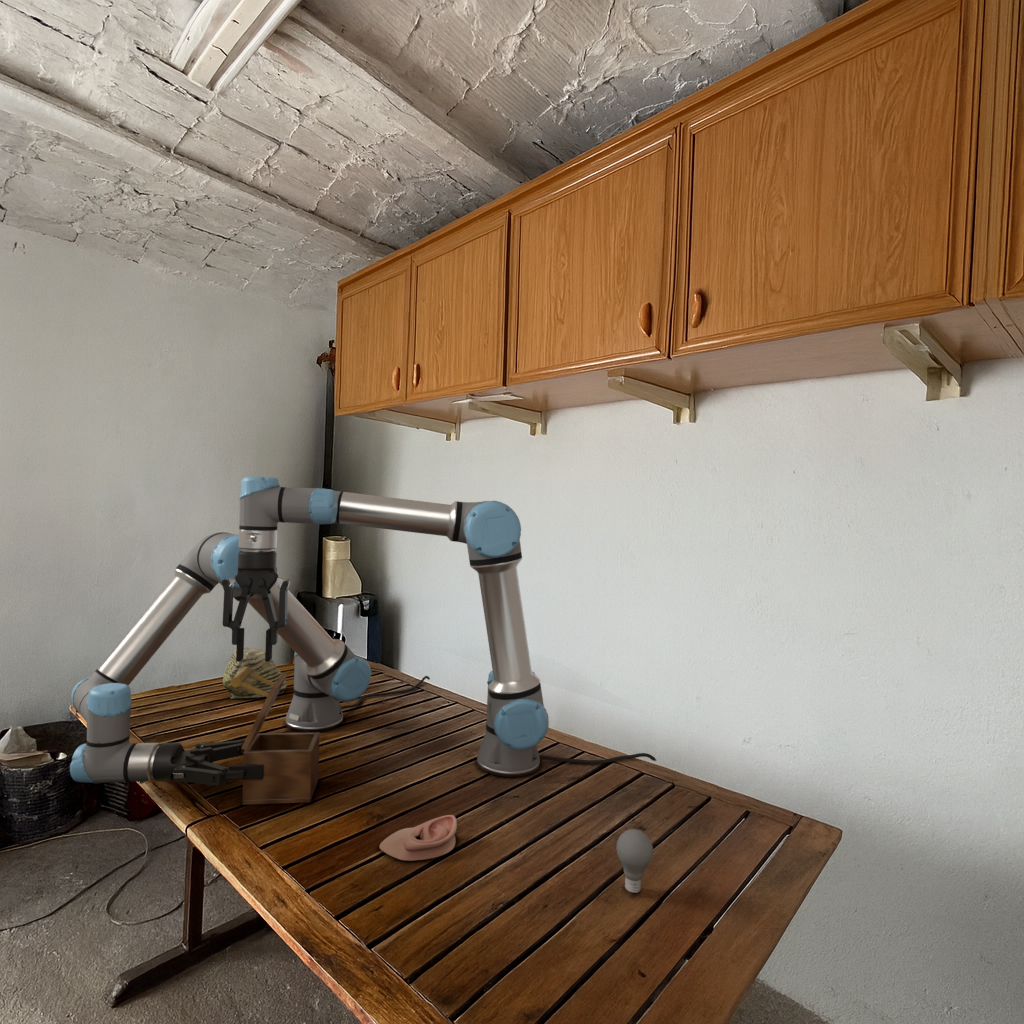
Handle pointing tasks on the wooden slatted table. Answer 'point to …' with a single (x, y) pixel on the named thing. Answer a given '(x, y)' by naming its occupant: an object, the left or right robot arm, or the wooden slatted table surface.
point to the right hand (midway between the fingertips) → (254, 659)
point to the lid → (271, 696)
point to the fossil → (257, 665)
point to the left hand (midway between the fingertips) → (269, 760)
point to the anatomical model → (422, 840)
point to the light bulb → (634, 857)
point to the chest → (282, 768)
